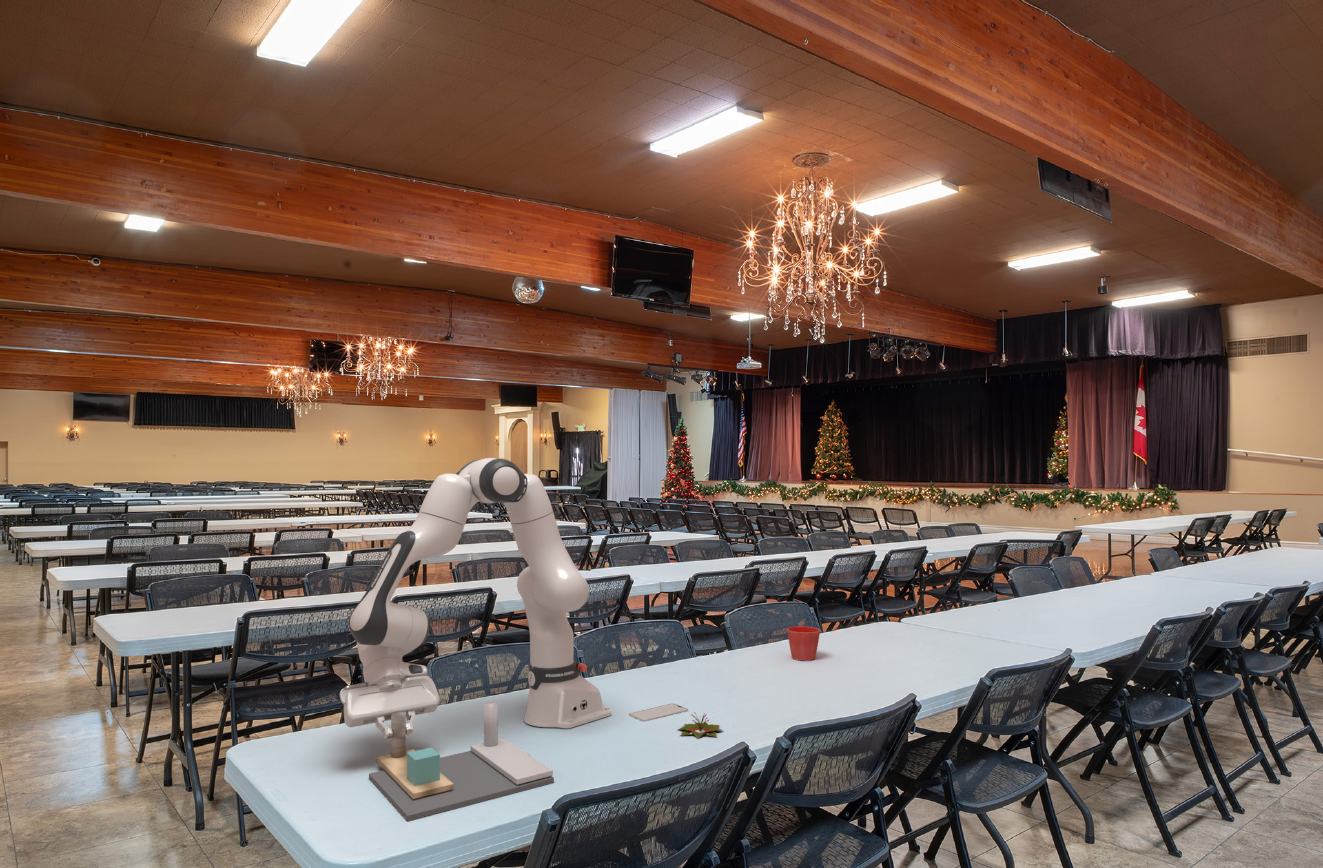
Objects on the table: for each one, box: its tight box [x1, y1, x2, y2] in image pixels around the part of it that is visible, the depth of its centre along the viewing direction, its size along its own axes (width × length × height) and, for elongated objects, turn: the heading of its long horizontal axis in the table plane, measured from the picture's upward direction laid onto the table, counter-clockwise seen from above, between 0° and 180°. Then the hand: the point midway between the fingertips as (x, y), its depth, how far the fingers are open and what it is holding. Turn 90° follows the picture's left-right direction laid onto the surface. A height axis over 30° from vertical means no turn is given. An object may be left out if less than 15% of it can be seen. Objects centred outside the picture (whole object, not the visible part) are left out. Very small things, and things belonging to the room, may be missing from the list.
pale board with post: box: [470, 701, 554, 785], centre depth 171 cm, size 8×24×10 cm, turn 36°
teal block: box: [407, 747, 441, 786], centre depth 160 cm, size 5×5×5 cm
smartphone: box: [628, 703, 689, 722], centre depth 209 cm, size 7×1×15 cm
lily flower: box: [676, 712, 723, 739], centre depth 194 cm, size 12×12×5 cm
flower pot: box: [786, 626, 821, 662], centre depth 267 cm, size 11×11×10 cm
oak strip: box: [376, 712, 454, 799], centre depth 165 cm, size 8×24×10 cm, turn 35°
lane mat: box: [368, 750, 555, 822], centre depth 165 cm, size 30×25×1 cm
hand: (399, 734), depth 172 cm, fingers closed on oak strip, 3 cm apart
